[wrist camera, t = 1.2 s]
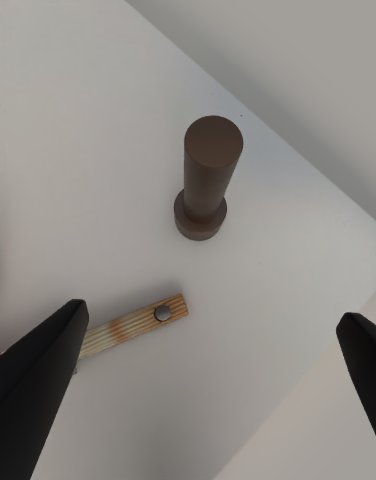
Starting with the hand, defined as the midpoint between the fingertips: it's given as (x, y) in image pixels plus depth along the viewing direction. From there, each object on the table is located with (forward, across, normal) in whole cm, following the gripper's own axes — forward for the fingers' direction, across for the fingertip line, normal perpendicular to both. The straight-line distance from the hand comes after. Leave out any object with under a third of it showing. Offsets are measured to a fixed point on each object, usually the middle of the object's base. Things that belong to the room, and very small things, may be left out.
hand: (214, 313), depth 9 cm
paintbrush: (+7, +10, +12) cm, 17 cm away
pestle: (+15, 0, +4) cm, 15 cm away
